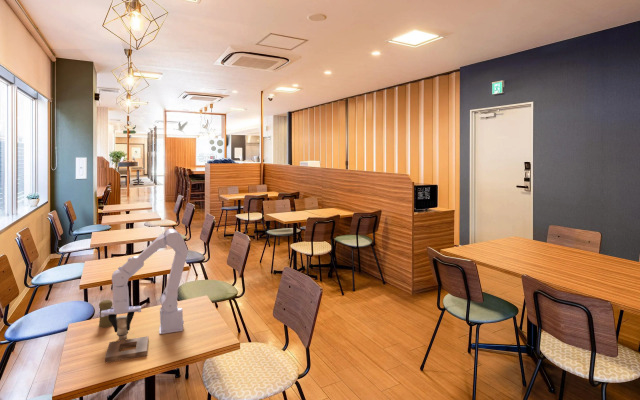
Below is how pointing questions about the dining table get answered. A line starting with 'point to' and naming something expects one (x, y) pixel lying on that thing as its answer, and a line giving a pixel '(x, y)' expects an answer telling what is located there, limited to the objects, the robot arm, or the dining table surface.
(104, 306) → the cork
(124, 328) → the ash peg
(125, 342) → the walnut board
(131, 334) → the dining table surface
